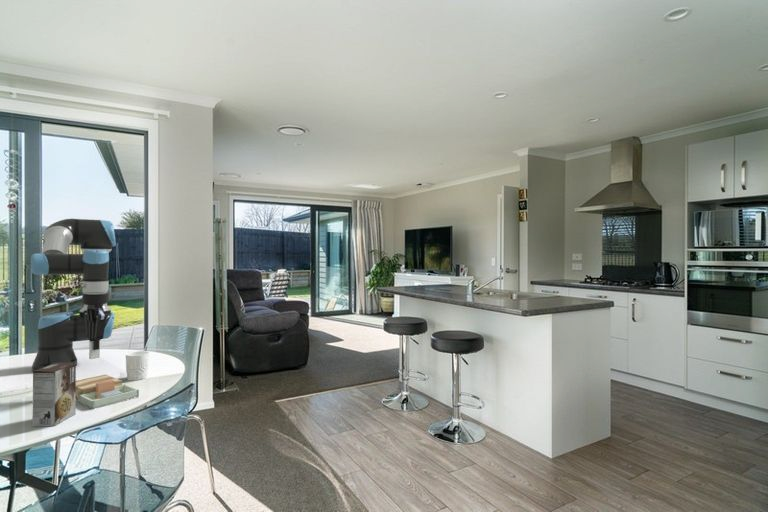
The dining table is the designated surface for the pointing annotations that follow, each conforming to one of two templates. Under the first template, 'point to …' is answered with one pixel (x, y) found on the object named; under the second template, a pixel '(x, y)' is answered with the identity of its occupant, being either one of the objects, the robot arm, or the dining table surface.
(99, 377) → the tan square panel
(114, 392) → the tile
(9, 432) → the dining table surface
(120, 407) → the dining table surface
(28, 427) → the dining table surface
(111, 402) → the tray
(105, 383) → the tile
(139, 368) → the white cup
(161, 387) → the dining table surface
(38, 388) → the cookie box
